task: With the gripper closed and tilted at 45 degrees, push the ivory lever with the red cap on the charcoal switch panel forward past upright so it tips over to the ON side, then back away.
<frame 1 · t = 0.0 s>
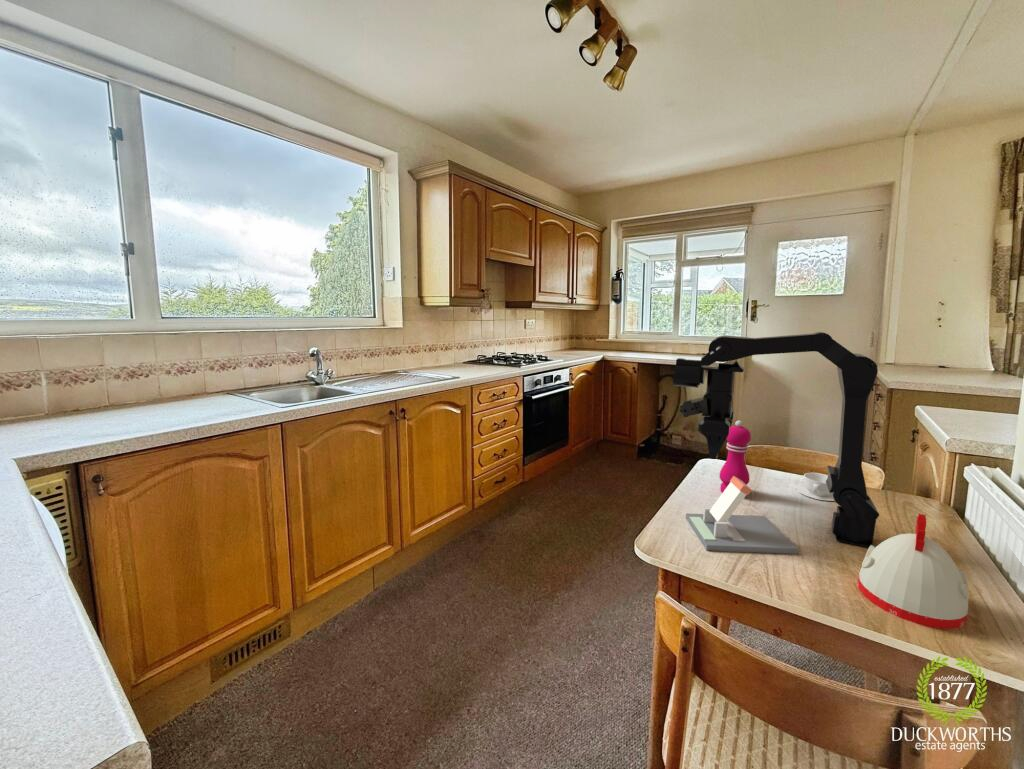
hand: (714, 452, 106), 15 cm above the table, tool pointing down, fingers open, 9 cm apart
kitchen timer: (908, 600, 75), on the table
teacup: (818, 495, 118), on the table
switch panel: (713, 533, 97), on the table
switch lever: (729, 500, 96), point 8 cm above the table, hinge at -30.0°
pepper mill: (732, 493, 119), on the table
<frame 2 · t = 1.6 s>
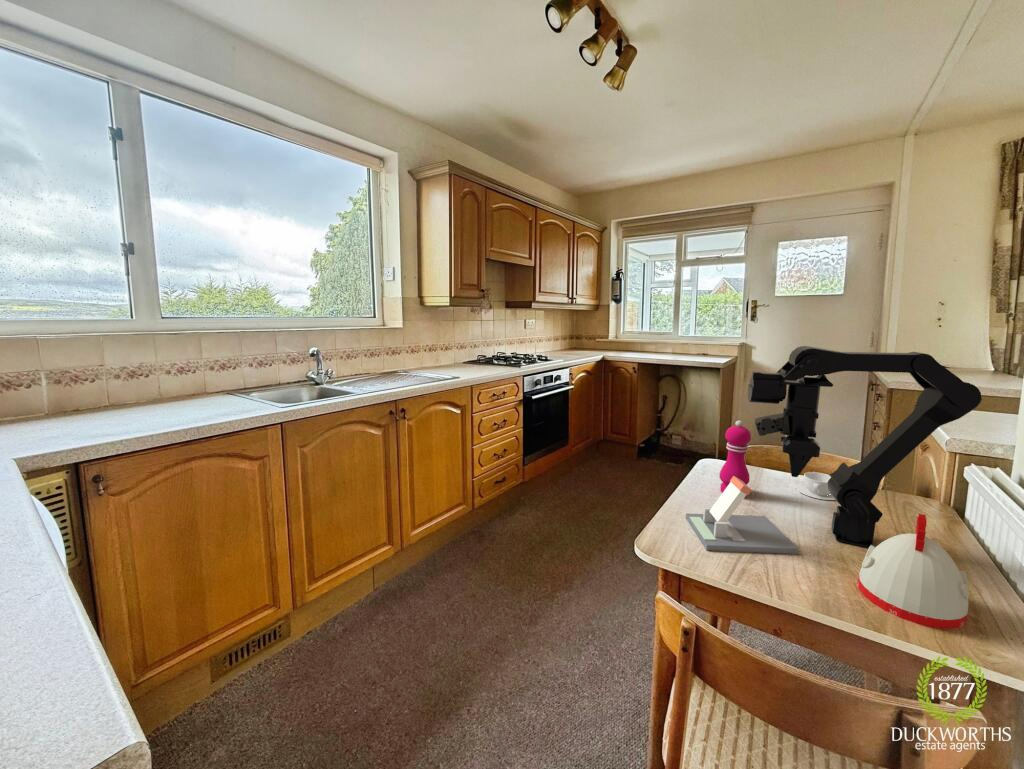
hand: (793, 474, 97), 13 cm above the table, tool pointing down, fingers open, 3 cm apart
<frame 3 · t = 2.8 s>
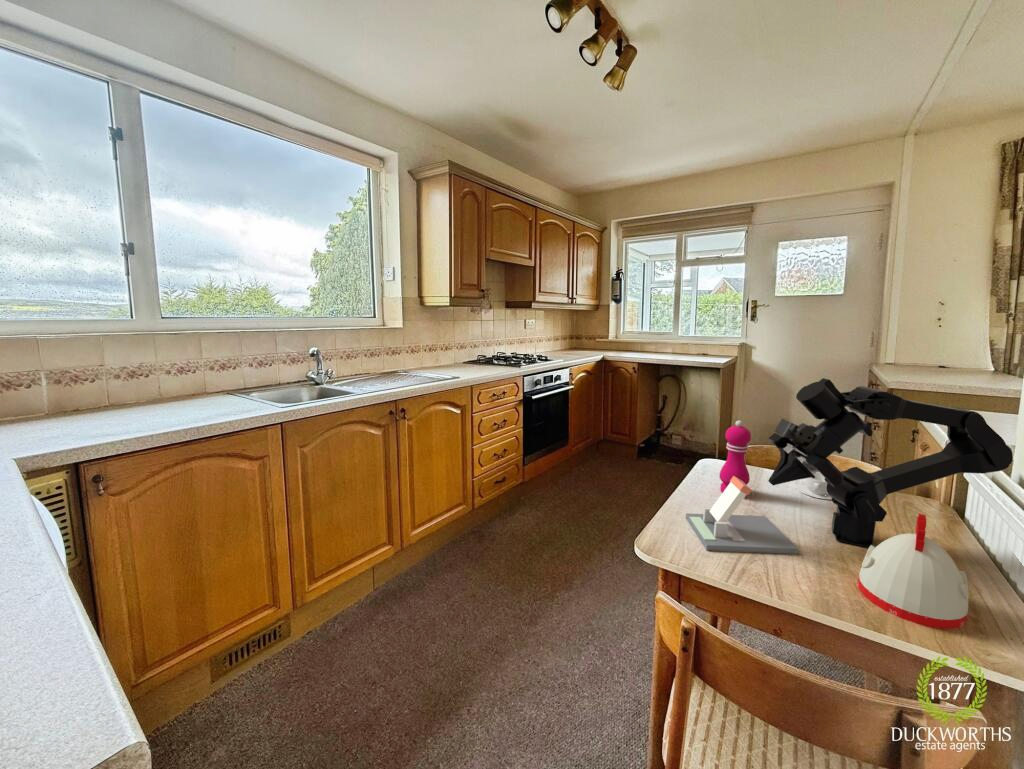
hand: (770, 483, 94), 12 cm above the table, tool tilted 45°, fingers closed
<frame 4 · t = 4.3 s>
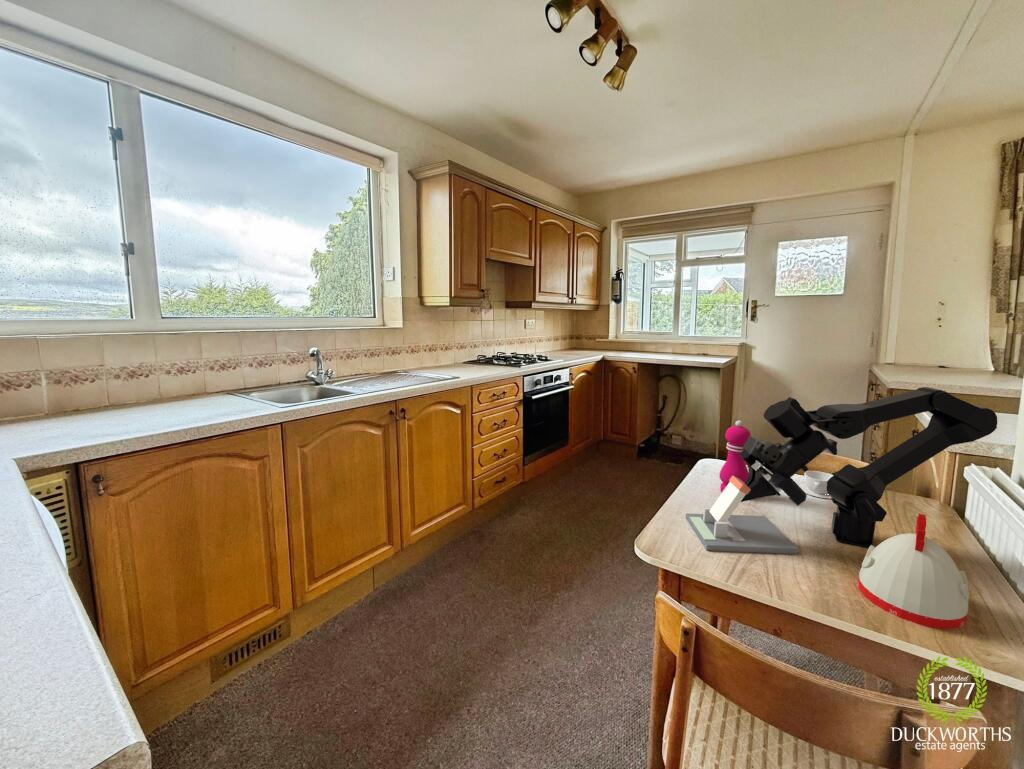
hand: (738, 499, 95), 8 cm above the table, tool tilted 45°, fingers closed, pressing on switch lever
switch lever: (728, 500, 96), point 8 cm above the table, hinge at -28.7°, touching gripper
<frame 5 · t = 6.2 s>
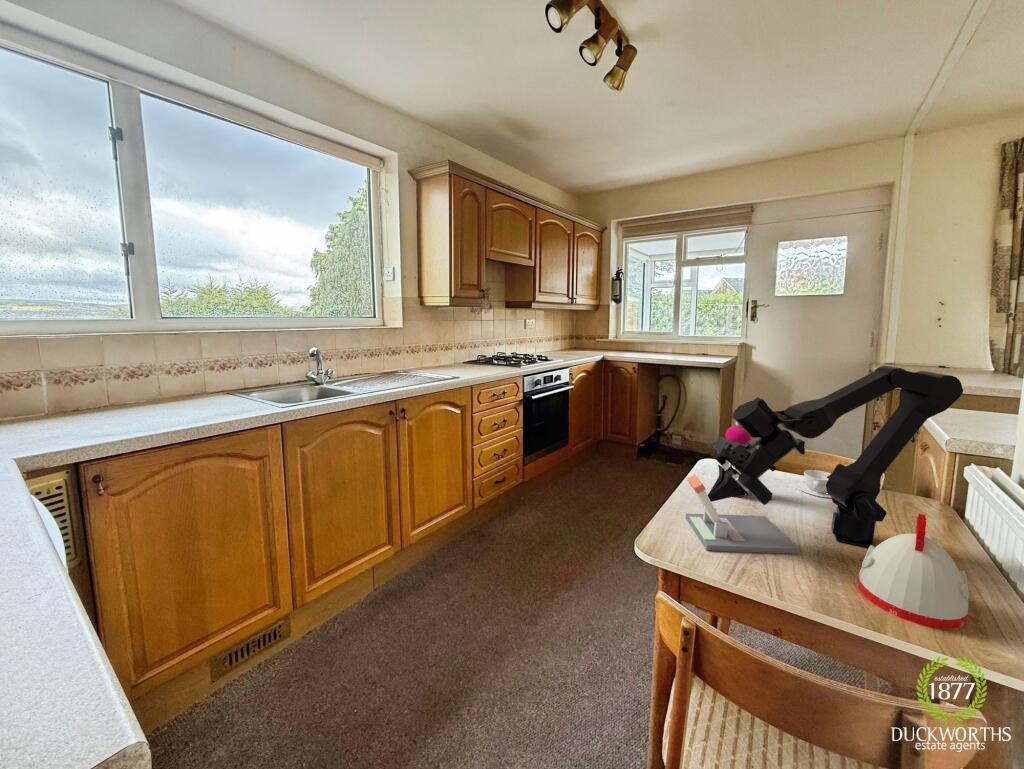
hand: (708, 499, 96), 8 cm above the table, tool tilted 45°, fingers closed, pressing on switch lever
switch lever: (704, 499, 96), point 8 cm above the table, hinge at 29.7°, touching gripper
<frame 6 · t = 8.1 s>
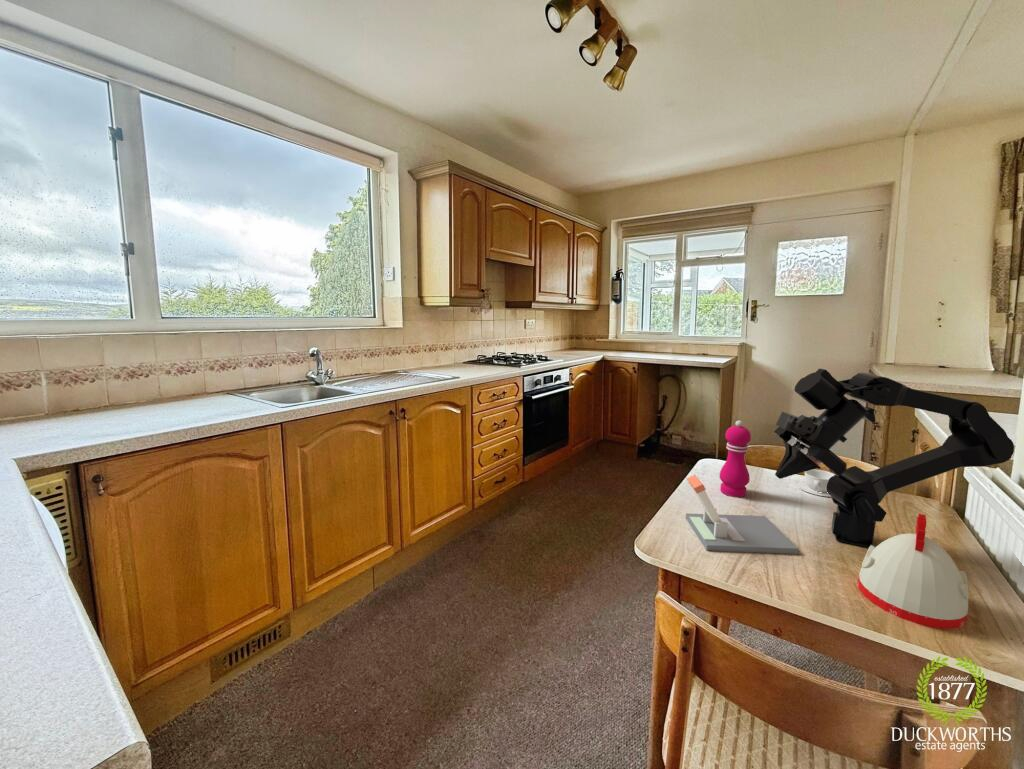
hand: (777, 476, 94), 13 cm above the table, tool tilted 40°, fingers closed
switch lever: (704, 499, 96), point 8 cm above the table, hinge at 29.7°
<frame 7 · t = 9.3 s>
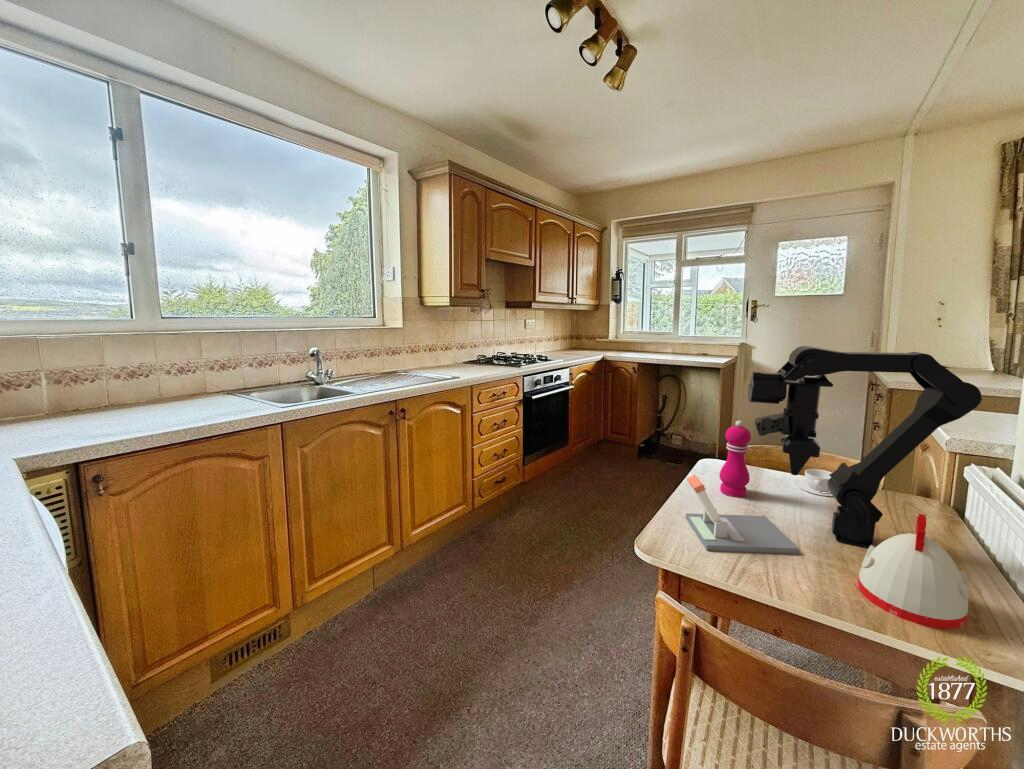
hand: (793, 474, 97), 13 cm above the table, tool pointing down, fingers closed
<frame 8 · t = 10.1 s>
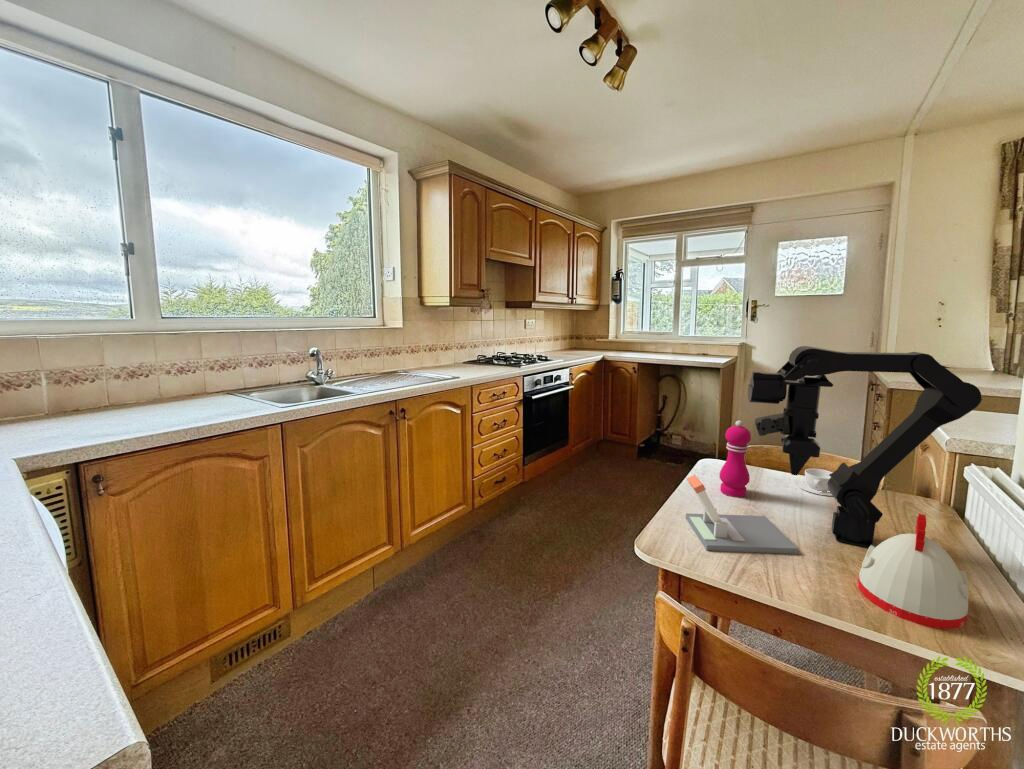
hand: (793, 474, 97), 13 cm above the table, tool pointing down, fingers closed
at the end: switch lever at +30° (first picture: -30°); pepper mill moved 0.2 cm from its start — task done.
